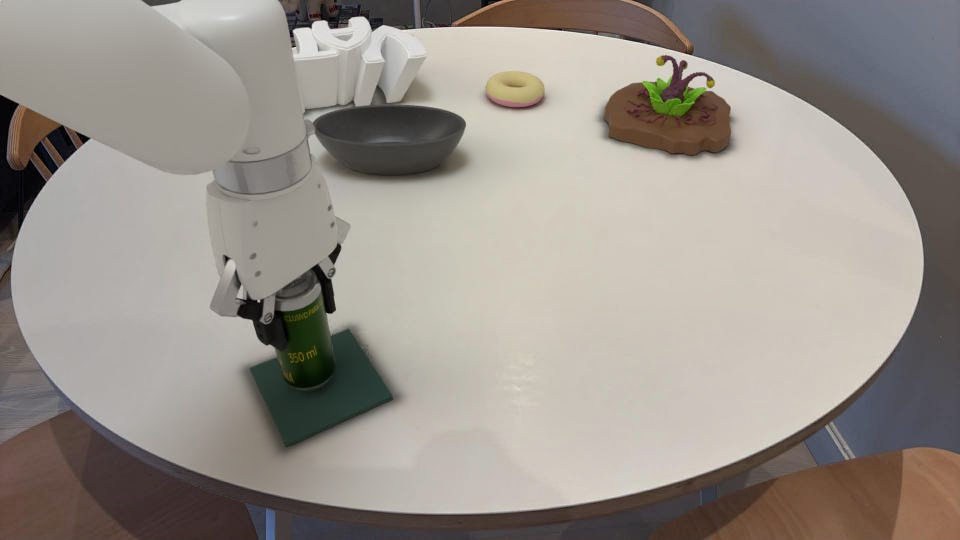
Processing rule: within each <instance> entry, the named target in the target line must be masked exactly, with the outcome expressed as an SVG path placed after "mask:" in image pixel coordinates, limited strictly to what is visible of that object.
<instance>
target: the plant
mask: <svg viewBox="0 0 960 540" xmlns="http://www.w3.org/2000/svg"><path fill="white" fill-rule="evenodd" d="M668 61H671V64H672V75H671V76H670V77H669V78H668V80H667V82H665V81H664V80H663V79H662V78H660V77H657V78H656V81H648V80H646V81H645V80H642V81H641V82H632V83H630V84H628V85H626V86H624V87H622V88H620V89H618V90H616V91H615V92H614V93H613V94H611V95H610V97H609V99H608V101H607V103H606V105H605V108H604V114H603V115H604V116H603V119H604V120H605V121H606V123H607V124H608V127H609V129H608V137H609V138H612V139H614V140H617V141H619V142H624V143H632V144H634V145H638V146H640V147H644V148H649V149H654V150H655V149H656V150H663V151H665V152H668V153H670V154H672V155H673V154H684V155H687V156H695V155H697V154H699V153H701V152H703V151H706V152H711V153H718V152H720V151H723V150H724V149H725V148H727V146H728V145H729V142H730V140H731V139H730V138H731V134H732V127H731V124H730V114H731V110H732V108H731V105H730V104H728V103H727V101H726V100H725V98H724V97H721V96H720V95H719V94H716V93H715V92H714V91H712V90H707V88H708V89H712V88H714V87H715V85H716V81H715V79H714V78H713V76H711V75H710V74H708V73H706V72H705V71H703V72H702V71H699V72H698V71H696V72H693V73H690V74H689V75H687V76H686V77H685V78H683V74H684V73H683V72H684V70H687V68H688V66H689V63H688V61H686V60H684V59H681V60H680V62H679V64H678V61H677V59H676V58H674V57H673V56H671V55H669V54H668V55H667V54H665V55H659V56H658V57H657V58H656V60H655V64H656V66H658V67H663V66H664V65H666V63H667V62H668ZM702 76H703V77H705V78H706V82H705V85H706V87H701V86H700V87H696V88H694V87H691V86H689V84H690V83H691V82H692V81H693V79H696V78H697V77H702Z"/></svg>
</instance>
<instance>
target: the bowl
mask: <svg viewBox="0 0 960 540" xmlns="http://www.w3.org/2000/svg"><path fill="white" fill-rule="evenodd" d="M312 123H313V125H314V127H315V133H314V134H313V135H315V137H316V139H317V140H318V141H319V143H320V145H321V146H322V147H323V148H324V149H325V150H326V151H327V152H328V153H329V155H331V157H332V158H334V159H335V160H336V161H338V162H339V163H341V164H342V165H344V166H345V167H346V168H349V169H350V170H353V171H355V172H359V173H363V174H369V175H379V176H404V175H412V174H419V173H424V172H428V171H431V170H433V169H436V168H437V167H438V166H440V165H441V164H442V163H444V161H446V160H447V159H448V158H449V157H450V156H451V155H452V154H453V152H455V150H456V148H457V147H458V145H459V143H460V141H461V140H462V137H463V135H464V133H465V130H466V128H467V127H466V126H467V122H466V120H465V118H463V117H462V116H461V115H459V114H458V113H455V112H453V111H450V110H447V109H442V108H438V107H432V106H425V105H418V104H417V105H416V104H395V103H394V104H393V103H386V104H370V105H366V106H357V107H356V106H350V107H345V108H339V109H336V110H335V109H334V110H332V111H329V112H326V113H324V114H322V115H320V116H318V117H317V118H315V119H314V120H313V122H312Z"/></svg>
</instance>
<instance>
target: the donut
mask: <svg viewBox="0 0 960 540" xmlns="http://www.w3.org/2000/svg"><path fill="white" fill-rule="evenodd" d="M545 92H546V89H545V84H544V82H543V81H542V80H541V79H540V78H539V77H537V76H536V75H534V74H531V73H528V72H524V71H519V70H518V71H517V70H509V71H501V72H498V73H496V74H493V75H492V76H491V77H489V79H488V80H487V82H486V84H485V94H486V95H487V97H488V98H489V99H490V100H491V101H492V102H494V103H495V104H498V105H500V106H502V107H503V106H504V107H509V108H525V107H531V106H533V105H535V104H537V103H539V102H540V101H541V100H542V99H543V97H544V96H545Z"/></svg>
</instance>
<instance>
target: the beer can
mask: <svg viewBox="0 0 960 540" xmlns="http://www.w3.org/2000/svg"><path fill="white" fill-rule="evenodd" d="M274 314H276V315H278V316H279V317H280V318H281V321H282V325H283V329H284V333H285V337H286V341H287V345H288V346H287V349H285V350H284V351H283V352H281V351H279V350H278V349H276V348H274V351H275V354H276V357H277V359H278V363H279V367H280V371H281V374H282V377H283V379H284V380H285V381H286V383H287V384H289V385H290V386H291V387H293V388H295V389H297V390H303V391H307V390H314V389H317V388H320V387H321V386H323V385H325V384H326V383H327V382H328V381H329V380H330V379H331V377H332V375H333V373H334V370H335V366H336V361H335V356H334V350H333V345H332V340H331V336H332V335H331V330H330V326H329V319H328V313H326V308H325V303H324V298H323V292H322V287H321V284H320V282H319V280H318V279H317V276H316V274H315V272H314V271H312V270H311V269H309V270H308V271H306V272H305V273H303V274H302V275H300V276H299V277H297V278H296V279H295V280H293V281H292V282H290V283H289V284H287V285H286V286H284V287H283V288H281V289H280V290H278V291H277V292H276V296H275V309H274Z"/></svg>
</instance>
